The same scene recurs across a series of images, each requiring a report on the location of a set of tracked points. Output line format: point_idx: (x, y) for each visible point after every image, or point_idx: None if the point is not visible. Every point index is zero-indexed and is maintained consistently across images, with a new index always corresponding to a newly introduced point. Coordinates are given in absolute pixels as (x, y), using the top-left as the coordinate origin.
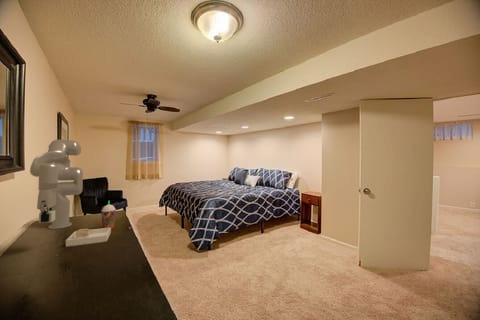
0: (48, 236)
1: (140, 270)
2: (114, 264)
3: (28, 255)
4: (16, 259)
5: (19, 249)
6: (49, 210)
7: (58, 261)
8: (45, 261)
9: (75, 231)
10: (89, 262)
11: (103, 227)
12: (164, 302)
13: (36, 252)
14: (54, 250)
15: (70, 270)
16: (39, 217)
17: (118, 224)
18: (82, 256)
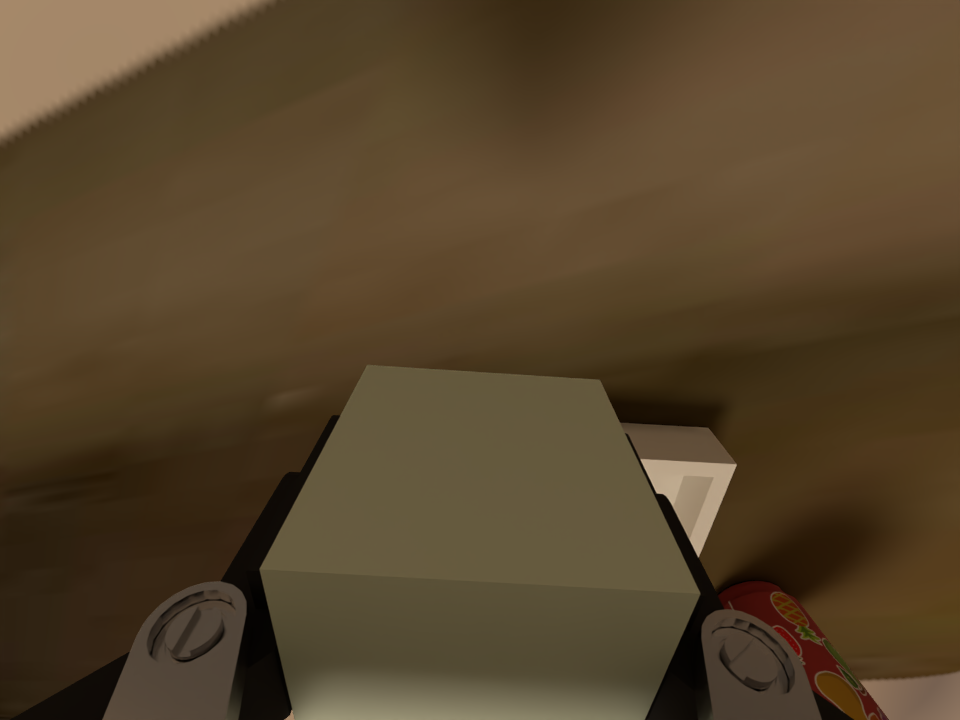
0: (945, 182)
1: (6, 707)
2: (74, 645)
3: (352, 184)
4: (278, 110)
5: (601, 4)
6: (682, 713)
7: (158, 430)
8: (175, 356)
9: (723, 469)
10: (114, 566)
11: (743, 610)
12: None
13: (409, 229)
14: (400, 356)
15: (17, 508)
16: (326, 456)
17: (845, 646)
18: (213, 529)
